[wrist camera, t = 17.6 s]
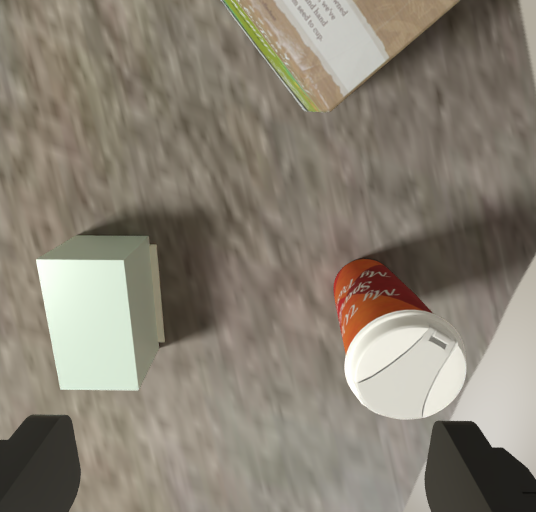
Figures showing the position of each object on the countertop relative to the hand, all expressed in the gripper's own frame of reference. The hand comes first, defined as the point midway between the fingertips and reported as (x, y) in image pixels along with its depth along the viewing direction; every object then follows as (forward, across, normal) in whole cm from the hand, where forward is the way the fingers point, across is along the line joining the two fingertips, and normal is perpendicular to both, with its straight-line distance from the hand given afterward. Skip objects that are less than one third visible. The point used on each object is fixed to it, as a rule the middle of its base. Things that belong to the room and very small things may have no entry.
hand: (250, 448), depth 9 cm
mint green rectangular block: (+28, +14, +9) cm, 33 cm away
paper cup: (+28, -9, +8) cm, 31 cm away
